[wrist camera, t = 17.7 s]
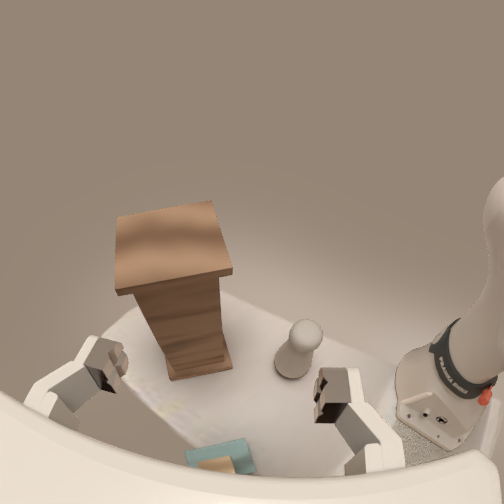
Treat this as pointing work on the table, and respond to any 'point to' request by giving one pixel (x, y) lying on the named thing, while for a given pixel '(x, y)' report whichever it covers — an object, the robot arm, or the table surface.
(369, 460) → the robot arm
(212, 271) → the pedestal
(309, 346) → the salt shaker
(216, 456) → the mallet
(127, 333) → the table surface
